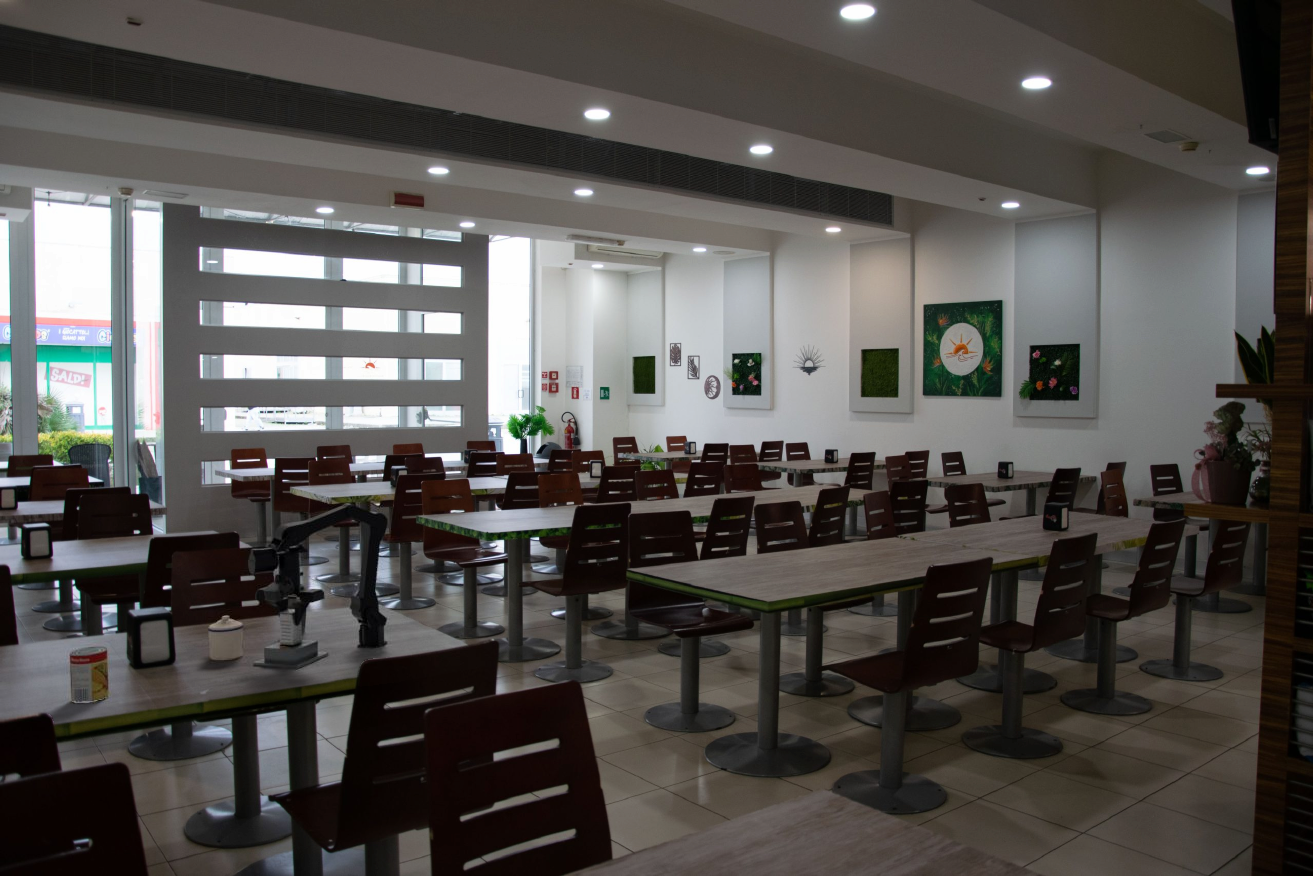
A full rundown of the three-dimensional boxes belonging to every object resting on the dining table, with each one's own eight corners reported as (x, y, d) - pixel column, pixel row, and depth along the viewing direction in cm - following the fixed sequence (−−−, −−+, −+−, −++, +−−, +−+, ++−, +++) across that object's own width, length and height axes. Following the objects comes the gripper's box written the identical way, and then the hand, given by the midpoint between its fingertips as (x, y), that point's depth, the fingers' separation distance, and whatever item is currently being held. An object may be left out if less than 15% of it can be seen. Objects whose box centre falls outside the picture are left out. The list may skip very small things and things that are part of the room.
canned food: (114, 693, 234) (112, 645, 234) (100, 703, 226) (99, 654, 226) (80, 695, 233) (78, 647, 233) (65, 705, 225) (63, 655, 225)
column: (302, 641, 264) (301, 609, 264) (292, 645, 260) (291, 613, 260) (289, 640, 266) (288, 609, 265) (279, 644, 261) (278, 612, 261)
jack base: (328, 655, 268) (327, 639, 268) (297, 668, 254) (296, 651, 254) (286, 652, 272) (286, 636, 272) (253, 665, 258) (253, 648, 258)
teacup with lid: (250, 655, 269) (249, 614, 269) (222, 662, 261) (221, 621, 261) (224, 649, 275) (223, 610, 275) (195, 657, 267) (194, 616, 267)
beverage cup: (300, 635, 291) (299, 571, 290) (279, 634, 292) (278, 571, 292) (314, 630, 298) (312, 567, 297) (293, 629, 299) (291, 567, 299)
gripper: (241, 573, 257) (242, 630, 258) (299, 576, 252) (301, 633, 252) (268, 566, 268) (269, 620, 268) (325, 569, 263) (326, 624, 263)
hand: (290, 625), depth 263 cm, fingers closed on column, 4 cm apart
